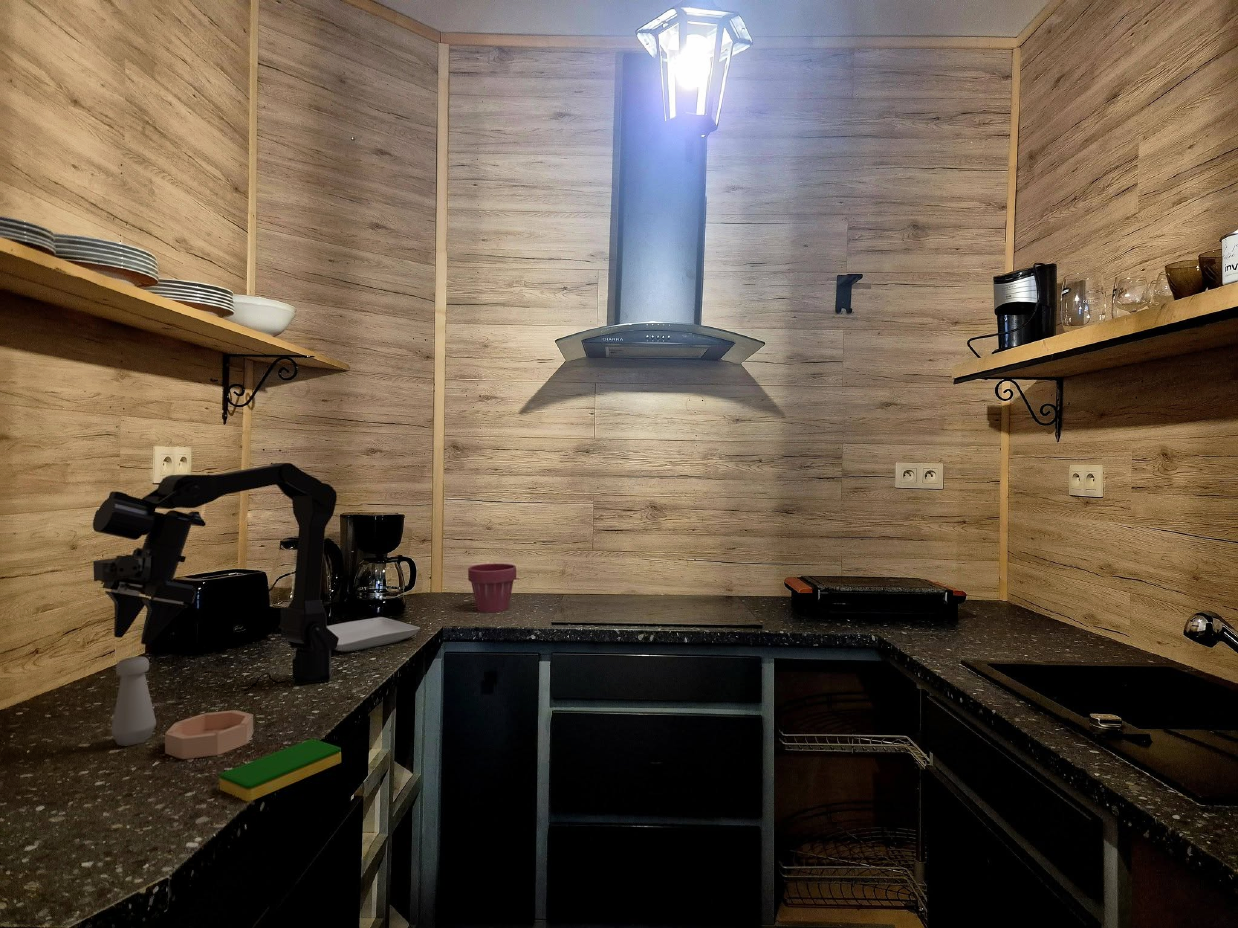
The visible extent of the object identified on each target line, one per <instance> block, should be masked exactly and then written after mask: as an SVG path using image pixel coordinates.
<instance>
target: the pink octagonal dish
mask: <svg viewBox="0 0 1238 928" xmlns="http://www.w3.org/2000/svg"><path fill="white" fill-rule="evenodd" d="M253 734H254V714H253V713H249V712H244V711H240V710H235V709H234V710H224V711H214V712H205V713H201V714H199V715H198V714H197V715H195V716H192V717H188V718H186V719H182V720H180V721H177V722H174V724H172V726H171V727H169V729H168V730H167V731H166V732H165V733H164V744H165V745H164V748H165V750H164V752H165V753H164V754H166V755H168V756H169V755H170V756H172V757H175V758H177V759H181V760H188V759H196V758H204V757H211V756H212V757H213V756H219V755H221V754H224V753H226V752H227V753H228V752H230V751H232V750H234V749H238V748H240V747H242V746H245V745H247V744H248V743H249V741H250V739H251V737H252V736H253Z"/></svg>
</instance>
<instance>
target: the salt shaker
mask: <svg viewBox="0 0 1238 928" xmlns="http://www.w3.org/2000/svg"><path fill="white" fill-rule="evenodd" d="M149 669H150V662H149V659H148V658H147V657H145V656H130V657H126V658H123V659H121V660H119V661H118V662H117V664H116V667H115V672H116V675H117V677H120V682H119V686H118V691H117V698H116V704H115V707H114V708H115V709H114V714H113V719H112V724H111V728H110V729H111V735H112V736H113V738H114V740H115V742H116V744H117V746H124V747H129V746H133V745H138V744H142V743H144V742H146V741H148V740H149V739H151V737H152V734H153V732H154V729H155V728H156V726H157V725H156V724H157V719H156V716H155V711H154V707H153V704H152V699H151V695H150V691H149V686H148V683H147V678H146V673H147V672H149Z"/></svg>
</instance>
